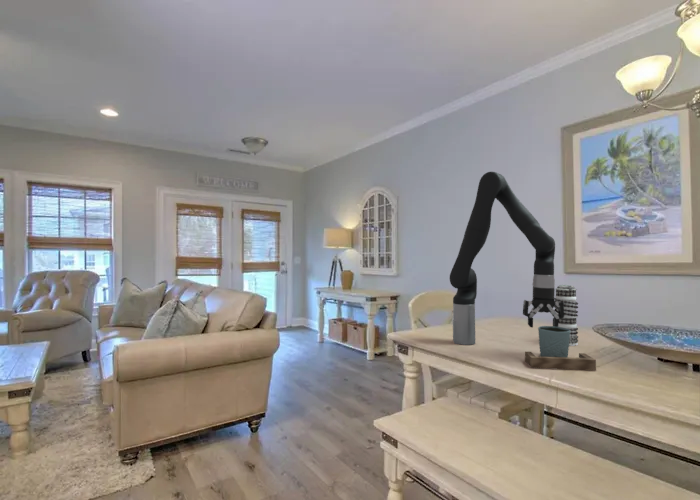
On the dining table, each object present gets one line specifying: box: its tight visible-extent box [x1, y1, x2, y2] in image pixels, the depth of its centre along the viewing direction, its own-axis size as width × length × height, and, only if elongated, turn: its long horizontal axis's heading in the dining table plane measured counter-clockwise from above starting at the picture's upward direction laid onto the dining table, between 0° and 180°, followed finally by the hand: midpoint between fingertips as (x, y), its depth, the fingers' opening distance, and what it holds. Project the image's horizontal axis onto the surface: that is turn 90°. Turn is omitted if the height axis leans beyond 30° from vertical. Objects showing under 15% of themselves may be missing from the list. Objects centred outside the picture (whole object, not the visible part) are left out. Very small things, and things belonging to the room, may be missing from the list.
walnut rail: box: [524, 351, 597, 371], centre depth 129 cm, size 20×8×4 cm, turn 80°
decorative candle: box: [553, 284, 579, 347], centre depth 160 cm, size 9×9×25 cm
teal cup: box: [537, 325, 570, 357], centre depth 133 cm, size 10×10×12 cm
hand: (542, 327), depth 144 cm, fingers open, 8 cm apart
